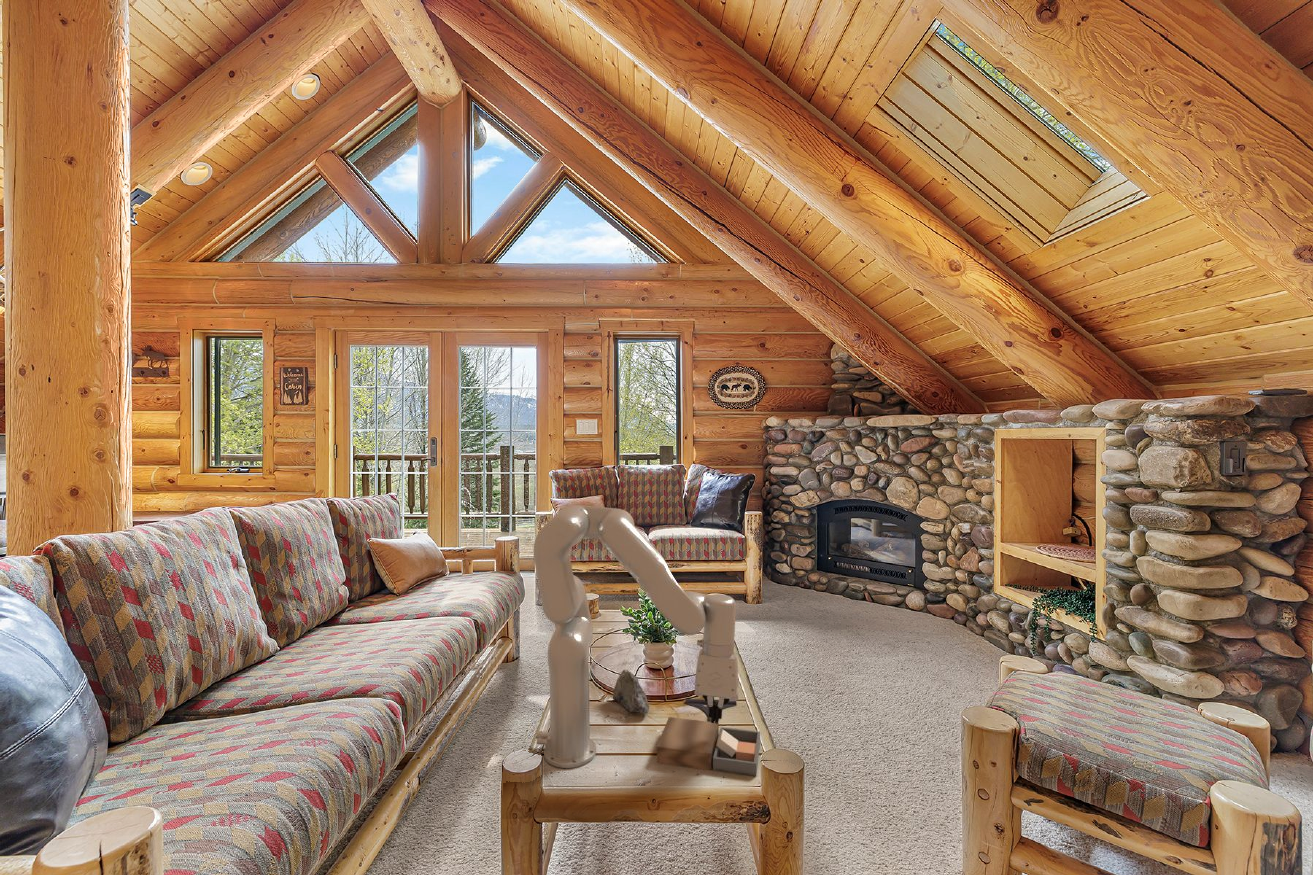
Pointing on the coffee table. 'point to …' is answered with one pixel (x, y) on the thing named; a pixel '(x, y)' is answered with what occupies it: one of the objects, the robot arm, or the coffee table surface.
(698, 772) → the coffee table surface
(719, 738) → the cream tile
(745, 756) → the terracotta tile
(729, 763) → the box
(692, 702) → the bracket
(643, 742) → the coffee table surface
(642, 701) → the mineral rock
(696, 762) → the tan square panel
